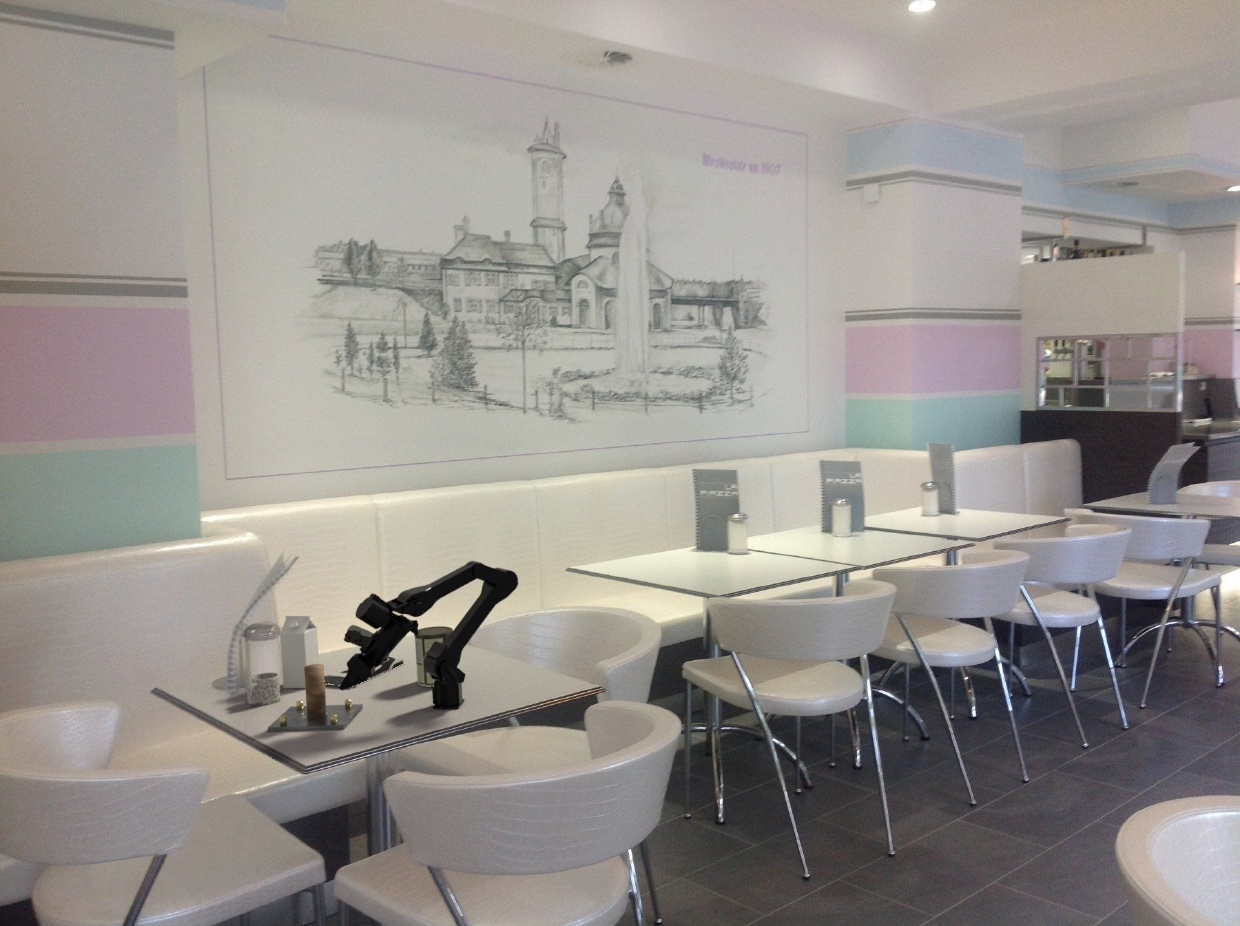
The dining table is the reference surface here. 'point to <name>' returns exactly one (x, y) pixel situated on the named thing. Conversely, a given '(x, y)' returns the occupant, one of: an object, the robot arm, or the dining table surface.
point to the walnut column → (315, 690)
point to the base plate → (299, 721)
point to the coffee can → (424, 644)
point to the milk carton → (297, 649)
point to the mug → (264, 689)
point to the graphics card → (382, 668)
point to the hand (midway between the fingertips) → (346, 683)
